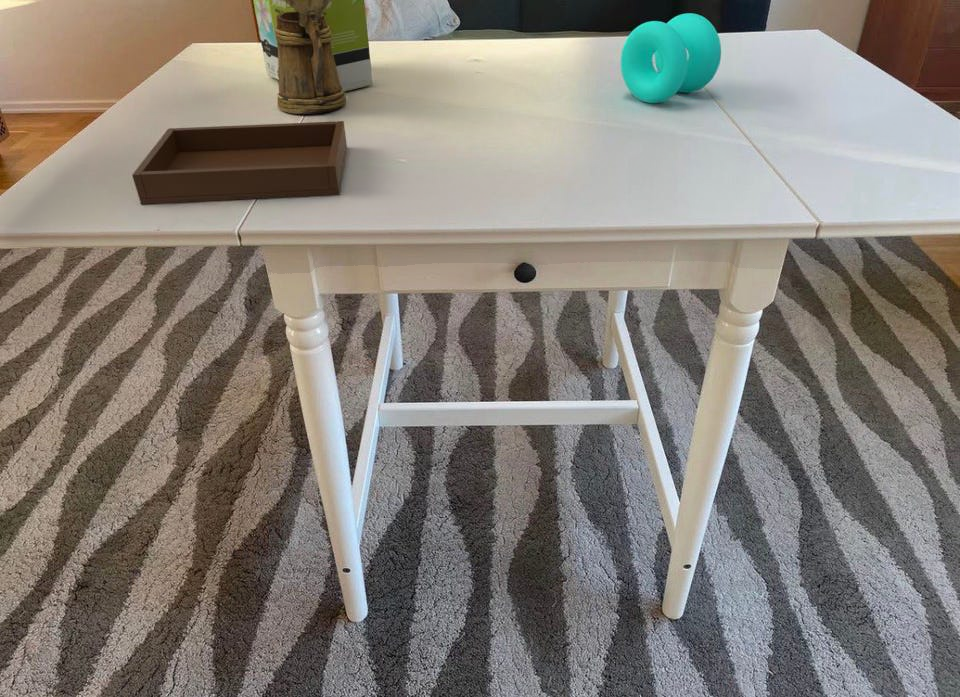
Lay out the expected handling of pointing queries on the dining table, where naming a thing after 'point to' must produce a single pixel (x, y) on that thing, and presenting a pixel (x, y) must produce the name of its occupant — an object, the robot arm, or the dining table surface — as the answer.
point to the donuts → (670, 57)
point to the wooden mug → (306, 60)
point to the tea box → (346, 44)
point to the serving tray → (243, 163)
